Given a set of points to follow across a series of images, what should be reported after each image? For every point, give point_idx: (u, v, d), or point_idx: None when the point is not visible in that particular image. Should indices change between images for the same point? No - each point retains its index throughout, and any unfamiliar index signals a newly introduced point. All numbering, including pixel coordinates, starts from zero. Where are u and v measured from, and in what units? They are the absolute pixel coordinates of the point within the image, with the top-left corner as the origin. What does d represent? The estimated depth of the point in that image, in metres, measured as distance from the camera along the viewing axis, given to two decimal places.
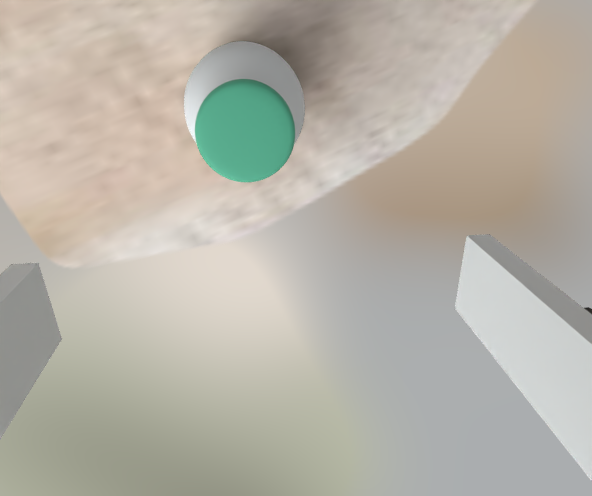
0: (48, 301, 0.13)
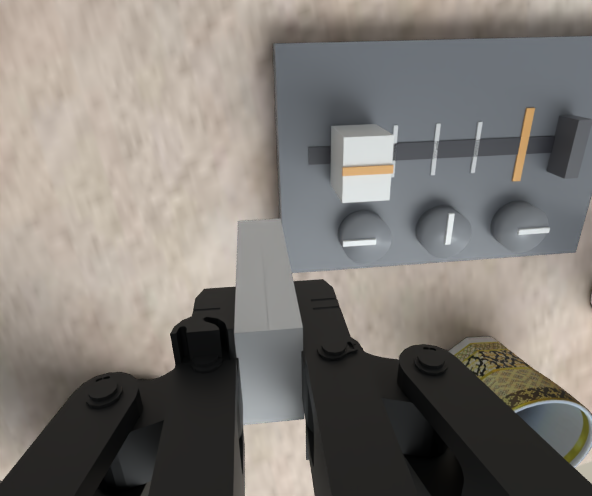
0: None
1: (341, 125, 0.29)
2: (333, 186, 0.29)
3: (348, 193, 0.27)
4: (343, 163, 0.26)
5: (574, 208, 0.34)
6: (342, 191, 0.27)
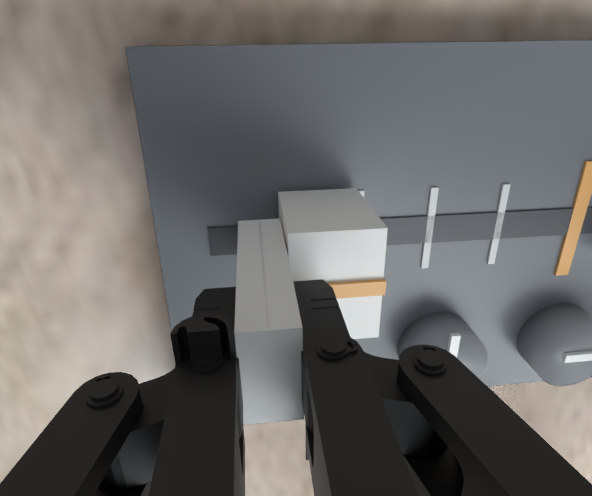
0: None
1: (296, 191, 0.16)
2: None
3: None
4: None
5: None
6: None
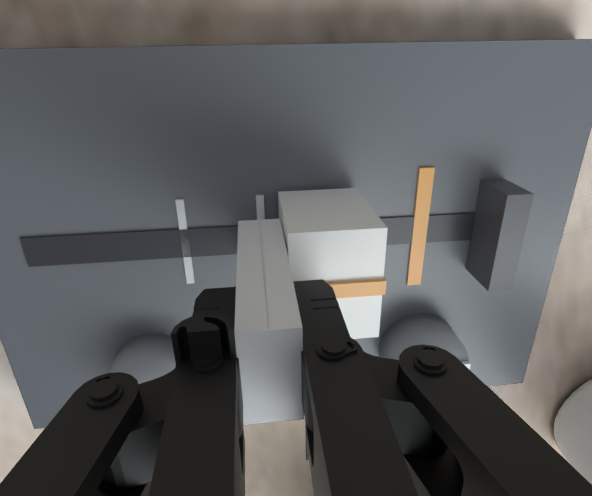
0: None
1: (296, 191, 0.16)
2: None
3: None
4: None
5: (516, 321, 0.21)
6: None
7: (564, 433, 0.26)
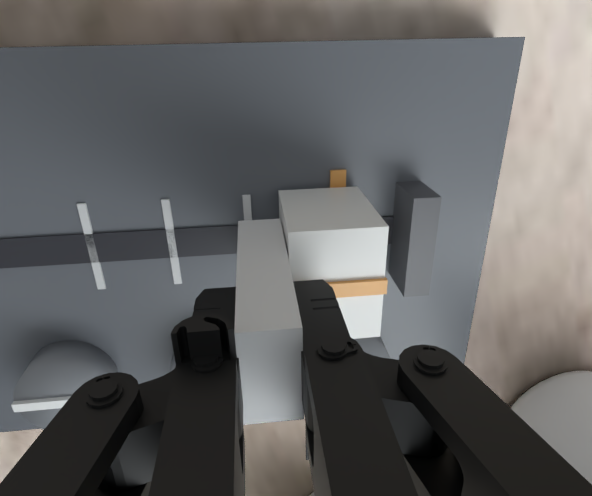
0: None
1: (296, 189, 0.16)
2: None
3: None
4: None
5: (447, 326, 0.20)
6: None
7: None
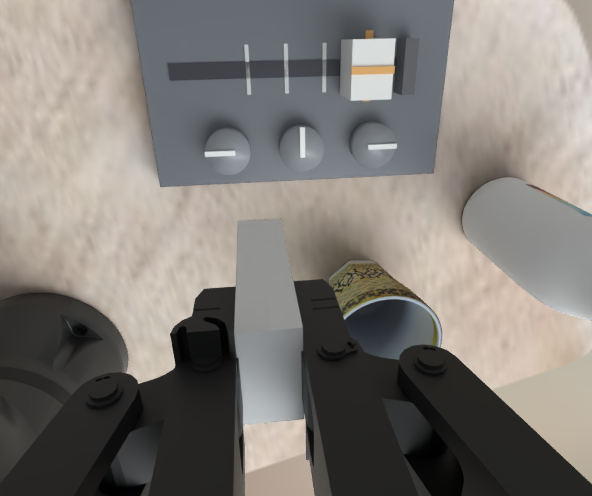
0: None
1: None
2: (342, 93, 0.34)
3: (356, 91, 0.31)
4: (352, 63, 0.30)
5: (425, 129, 0.37)
6: (351, 90, 0.31)
7: (465, 219, 0.42)
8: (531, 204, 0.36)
